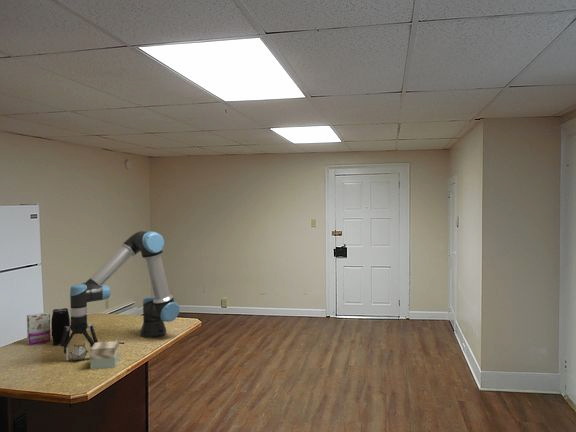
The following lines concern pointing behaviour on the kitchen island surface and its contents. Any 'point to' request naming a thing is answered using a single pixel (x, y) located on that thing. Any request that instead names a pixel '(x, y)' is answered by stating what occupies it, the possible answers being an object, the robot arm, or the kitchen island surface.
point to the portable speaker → (59, 325)
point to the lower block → (104, 363)
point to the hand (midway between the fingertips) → (79, 358)
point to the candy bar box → (38, 328)
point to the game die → (79, 352)
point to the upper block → (104, 350)
